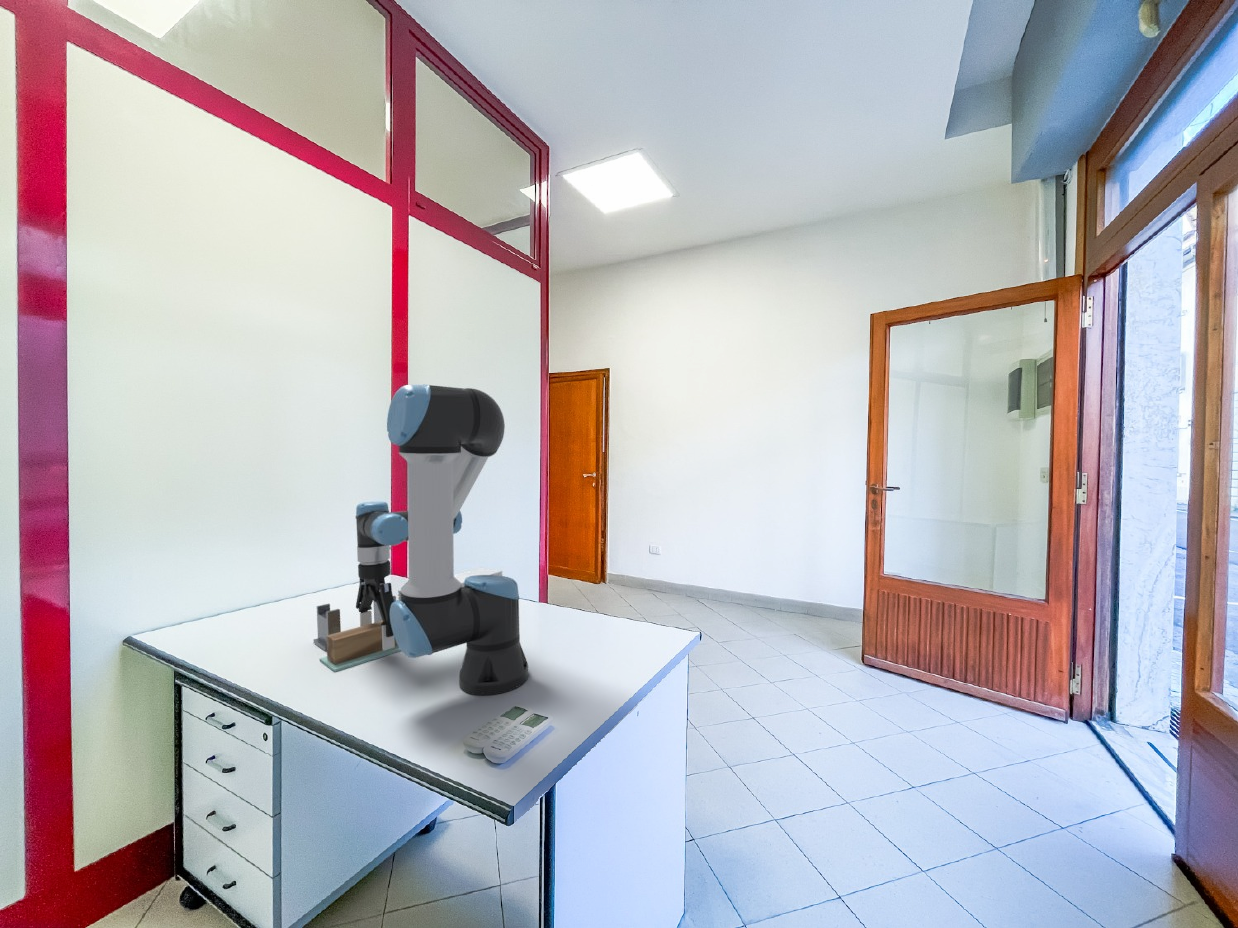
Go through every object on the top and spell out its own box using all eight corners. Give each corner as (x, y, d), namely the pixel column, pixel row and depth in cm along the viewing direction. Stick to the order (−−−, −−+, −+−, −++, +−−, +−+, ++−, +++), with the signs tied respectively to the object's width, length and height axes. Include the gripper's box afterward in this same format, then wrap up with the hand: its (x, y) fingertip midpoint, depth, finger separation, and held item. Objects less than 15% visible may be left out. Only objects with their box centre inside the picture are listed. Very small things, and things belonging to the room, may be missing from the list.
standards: (401, 629, 144) (399, 595, 144) (325, 651, 130) (323, 613, 129) (387, 622, 150) (386, 590, 150) (313, 643, 136) (312, 606, 135)
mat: (430, 641, 135) (430, 639, 135) (334, 672, 117) (334, 669, 117) (413, 632, 142) (413, 630, 142) (319, 660, 124) (319, 658, 124)
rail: (422, 637, 136) (421, 616, 136) (334, 664, 120) (333, 640, 119) (413, 633, 139) (412, 612, 139) (327, 659, 123) (326, 635, 123)
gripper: (410, 565, 123) (413, 649, 124) (369, 553, 140) (372, 627, 140) (380, 571, 118) (383, 659, 118) (340, 557, 134) (343, 635, 135)
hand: (377, 642), depth 129 cm, fingers open, 13 cm apart
